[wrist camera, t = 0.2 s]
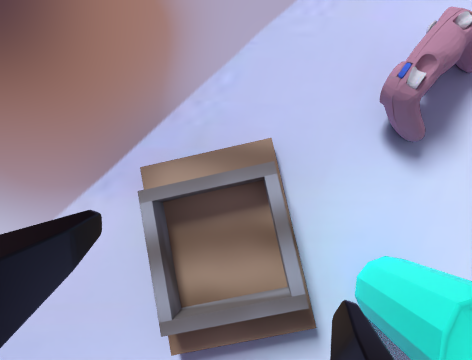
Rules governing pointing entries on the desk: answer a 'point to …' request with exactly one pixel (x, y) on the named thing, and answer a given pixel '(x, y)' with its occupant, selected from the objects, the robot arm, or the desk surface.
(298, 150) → the desk surface
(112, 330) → the desk surface
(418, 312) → the candle
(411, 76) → the video game controller
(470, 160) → the desk surface
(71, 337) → the desk surface
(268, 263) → the holder base
